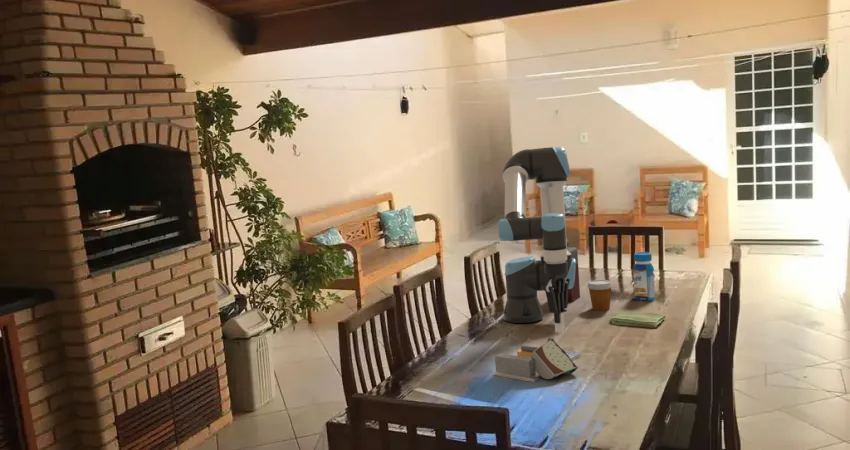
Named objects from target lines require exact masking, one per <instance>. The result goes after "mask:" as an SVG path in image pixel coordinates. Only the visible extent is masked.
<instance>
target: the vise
mask: <svg viewBox="0 0 850 450" xmlns="http://www.w3.org/2000/svg"><path fill="white" fill-rule="evenodd" d="M563 350H564V349H563ZM564 351H565V352H566V354H567V355H568V356H569V358H570V359H571V361H572V362H573V361H574V360H576V359H577V358H579V357H581V355H582V354H581V353H582V352H579V351H572V350H564ZM494 363H495V364H494V365H495V370H493V373H492V374H493V376H498V377H503V378H509V379H515V380H521V381H527V382H531V383H535V382H536V381H538V380H540V379H543V378H542V377H541V376H540V375H539V374H538V373H537V372H536V371H535V358H528V357H522V356H517V355H515V354H507V353H501V352H500V353H498V354H496V355H494Z"/></svg>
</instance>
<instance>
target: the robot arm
mask: <svg viewBox="0 0 850 450" xmlns="http://www.w3.org/2000/svg"><path fill="white" fill-rule="evenodd" d="M570 177H571V171H570V165H569V160H568V155H567V152H566V149H565V148H564V147H562V146H552V147H551V146H550V147H542V148H541V147H540V148H530V149H529V148H527V149H522V150H520V151H517V152H516V153H515V154H513V155H512V156H511V157H510V158H509V159H508V160H507V162H506V163H505V165H504V166H503V170H502V181H503V183H504V218H501V219H498V222H497V230H498V238H499V240H500V241H502V242H505V241H506V242H507V241H509V242H514V241H515V242H516V241H528V240H529V241H530V240H542V250H543V251H542V252H541V255H540V259H539V260H536V258H535V256H531V255H530V256H523V257H517V258H514V259H511V260H508V261H507V262H506V263H505V265H504V276H505V288H506V302H505V305H504V306H505V307H504V311H503V320H504V321H506V322H509V323H515V324H516V323H517V324H518V323H519V324H522V323H525V324H527V323H533V322H534V323H535V322H538V321H540V320H541V321H542V319H544V311H543V309H542V306H541V303H540V301H539V297H538V292H543V291H544V292H545V296H546V300H547V301H546V302H547V306H548V309H549V313H551V314H553V320H554V332H555V333H560V334H561V333H562V334H563V333H565V313H567V311H568V310H567V308H568V303H569V302H568V289H571V288H573V286H574V281H575V268H576V259H574V258H572V255H571V253H570V252H569V251H568V250H567V248H568V246H567V241H566V239H567V227H566V225H567V223H566V209H565V197H564V186H565V185H566V184H567V182H568V179H567V178H570ZM531 180H535V186H537V187H539V189H540V204H541V205H540V206H541V207H540V208H541V216H533V217H531V216H530V217H527V189H526V188H527V182H528V181H531Z"/></svg>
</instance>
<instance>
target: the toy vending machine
mask: <svg viewBox="0 0 850 450" xmlns="http://www.w3.org/2000/svg"><path fill="white" fill-rule="evenodd" d="M566 241H567V250H568V251H569V252H570V253H571V255H572V258H574V259H576V268H575V281H574V286H573V288H571V289H568V303H574V302H575V301H577V300H579V299H580V298H581V292H580V291H581V290H580V286H581V285H580V273H579V272H580V271H579V254H578V248H577V247H568V246H569V244H570V242H569V239H568V238H566Z"/></svg>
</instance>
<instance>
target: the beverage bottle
mask: <svg viewBox="0 0 850 450" xmlns="http://www.w3.org/2000/svg"><path fill="white" fill-rule="evenodd" d="M652 256H653V255H652V253H651V252H649V251H641V252H635V253H634V254H633V258H634V263H635V264H634V266H633V268H632V271H633V274H632V279H633V287H634V288H633V289H634V300H637V301H640V302H641V301H643V302H649V301H654V300H656V294H655V293H656V292H655V291H656V290H655V278H656V277H655V276H656V275H655V273H654V272H655V268H654V265H653V264H652V260H653V257H652Z"/></svg>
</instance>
